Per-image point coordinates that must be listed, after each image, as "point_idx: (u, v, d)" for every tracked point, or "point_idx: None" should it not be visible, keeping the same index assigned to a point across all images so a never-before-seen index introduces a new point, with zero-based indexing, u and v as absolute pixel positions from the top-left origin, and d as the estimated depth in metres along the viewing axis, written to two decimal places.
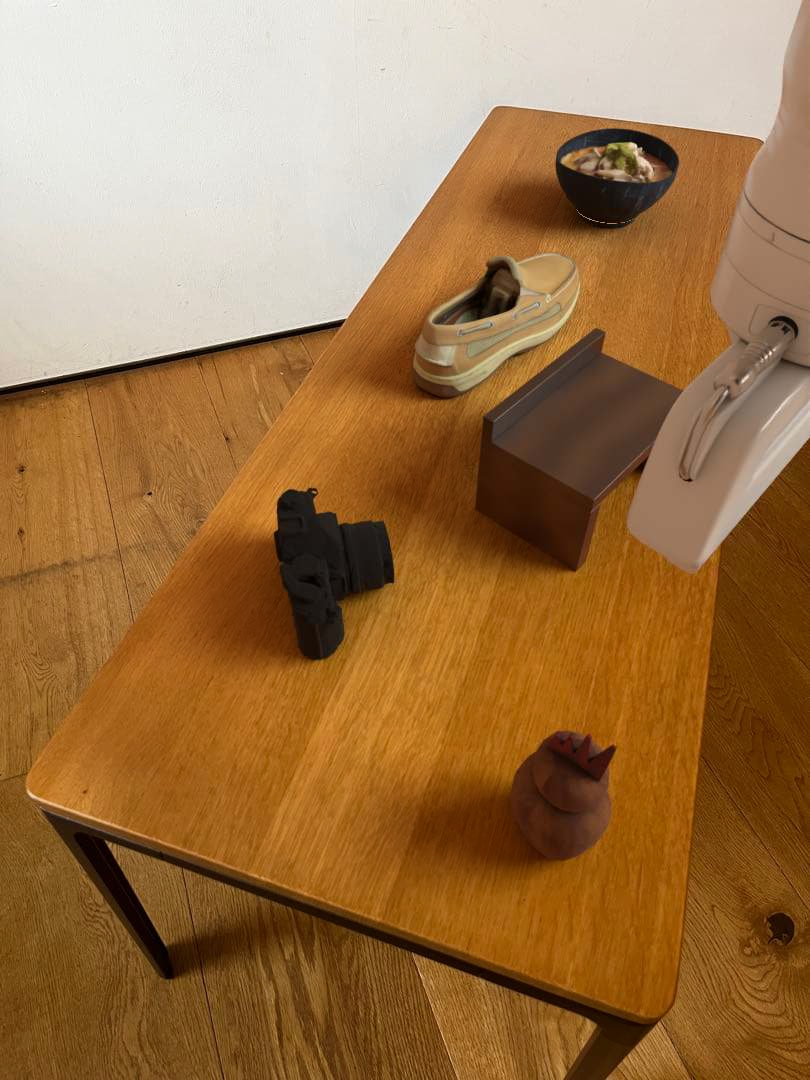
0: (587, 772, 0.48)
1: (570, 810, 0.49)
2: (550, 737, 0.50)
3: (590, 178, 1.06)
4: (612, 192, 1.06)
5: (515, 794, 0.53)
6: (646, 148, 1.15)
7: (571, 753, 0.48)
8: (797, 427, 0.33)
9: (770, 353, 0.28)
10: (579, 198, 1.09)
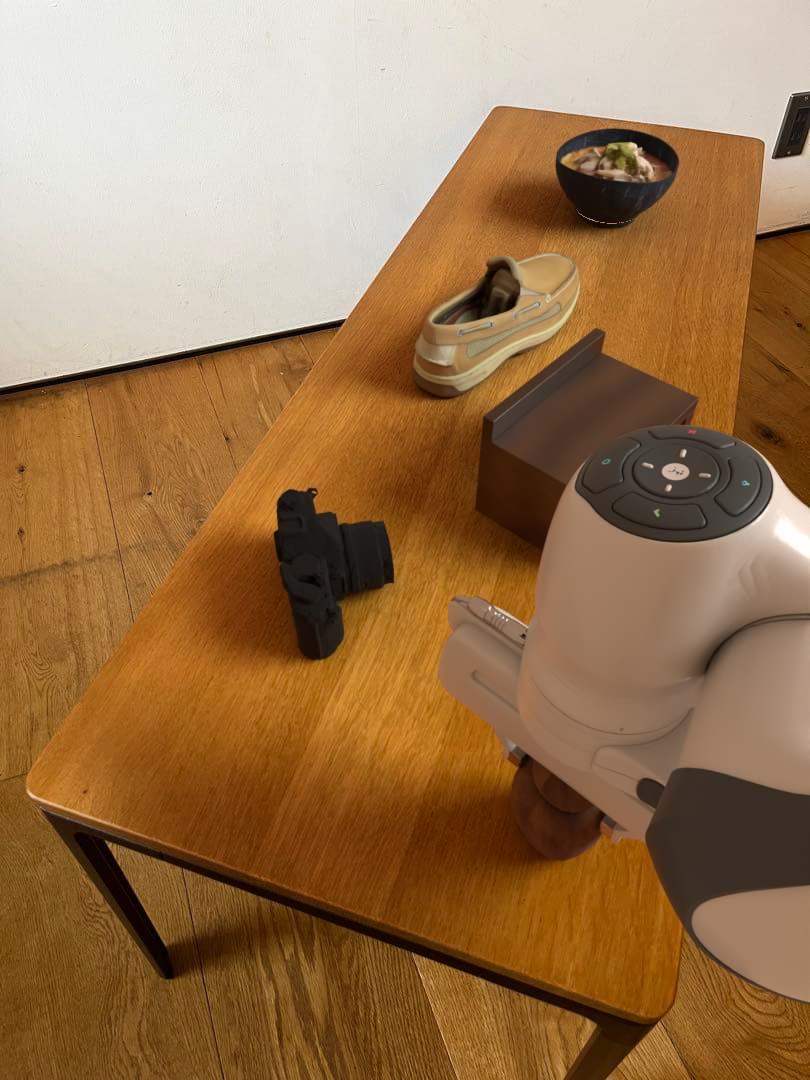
0: None
1: (570, 810, 0.49)
2: None
3: (591, 178, 1.06)
4: (612, 192, 1.06)
5: (514, 794, 0.53)
6: (646, 148, 1.15)
7: None
8: None
9: (500, 625, 0.45)
10: (579, 198, 1.09)
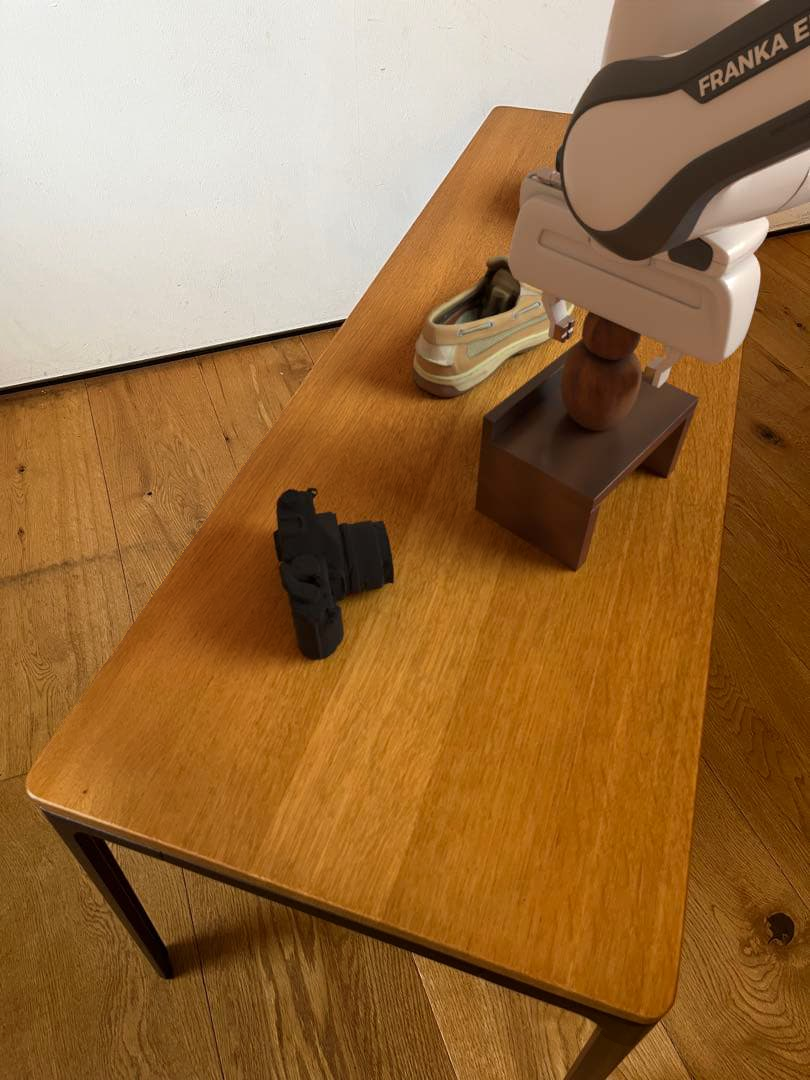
0: None
1: (612, 353, 0.64)
2: None
3: None
4: None
5: (566, 370, 0.68)
6: None
7: None
8: (582, 264, 0.61)
9: None
10: None
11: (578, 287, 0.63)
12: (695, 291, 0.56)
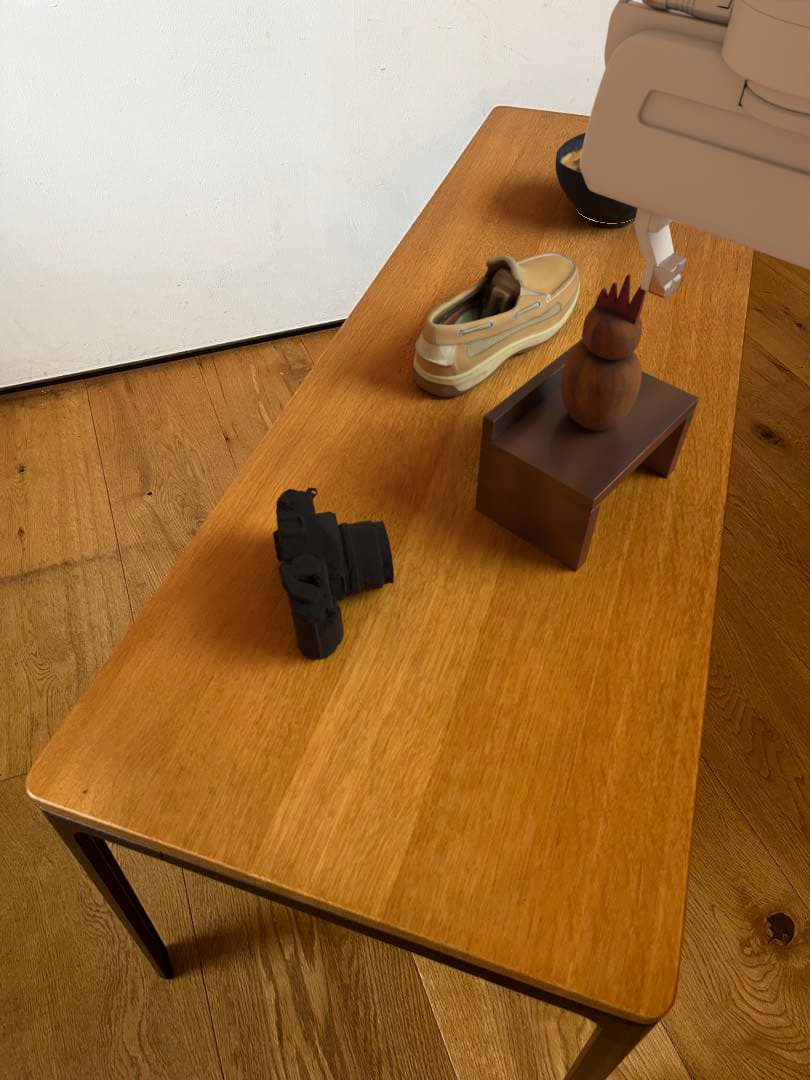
0: (625, 318, 0.63)
1: (612, 353, 0.64)
2: None
3: None
4: None
5: (566, 370, 0.68)
6: None
7: (613, 303, 0.63)
8: (721, 150, 0.35)
9: None
10: (579, 198, 1.09)
11: (708, 195, 0.36)
12: None
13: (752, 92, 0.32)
